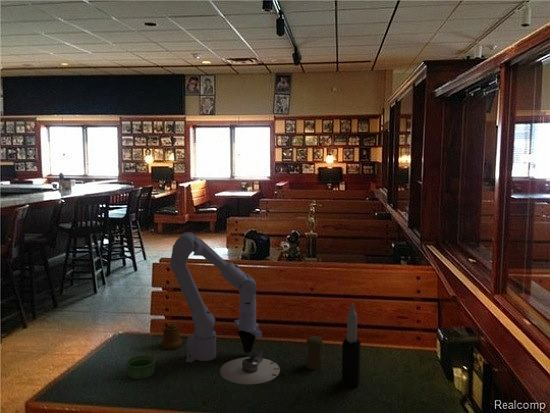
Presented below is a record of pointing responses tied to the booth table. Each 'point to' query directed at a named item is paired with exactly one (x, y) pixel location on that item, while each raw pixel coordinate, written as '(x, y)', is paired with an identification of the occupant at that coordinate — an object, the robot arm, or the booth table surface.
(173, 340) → the ornamental finial
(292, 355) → the booth table surface
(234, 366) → the dial plate
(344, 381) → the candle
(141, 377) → the ramekin
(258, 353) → the dial pointer
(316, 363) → the cork
